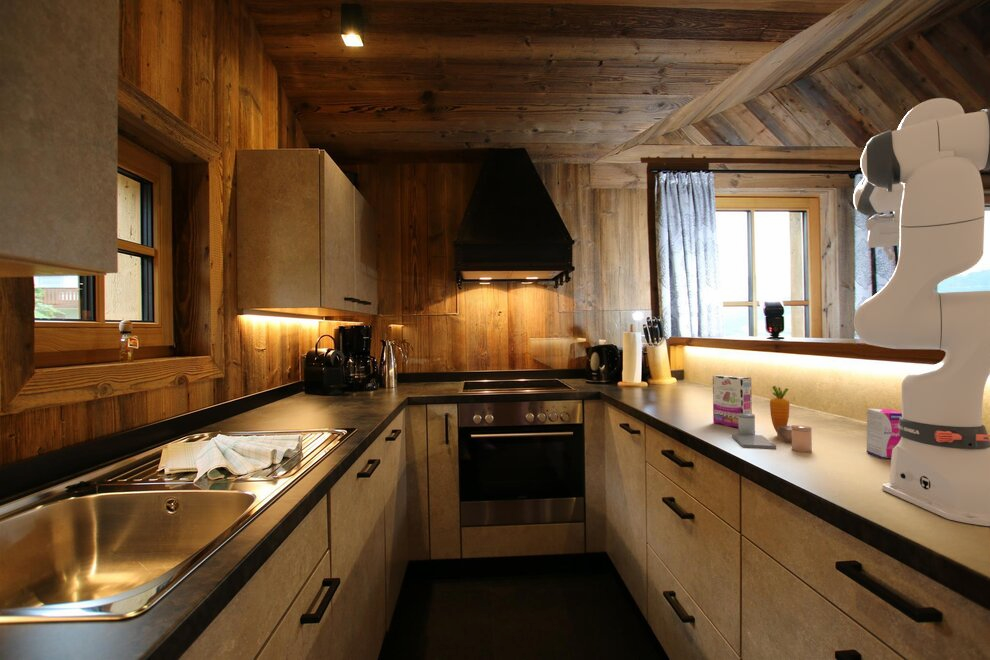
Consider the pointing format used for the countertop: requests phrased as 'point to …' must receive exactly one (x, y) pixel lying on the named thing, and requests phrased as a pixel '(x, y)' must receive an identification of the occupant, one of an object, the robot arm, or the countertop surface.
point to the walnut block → (784, 433)
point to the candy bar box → (730, 399)
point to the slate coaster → (753, 441)
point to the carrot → (779, 408)
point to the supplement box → (882, 431)
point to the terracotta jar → (801, 438)
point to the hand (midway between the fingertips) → (913, 257)
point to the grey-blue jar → (746, 424)
